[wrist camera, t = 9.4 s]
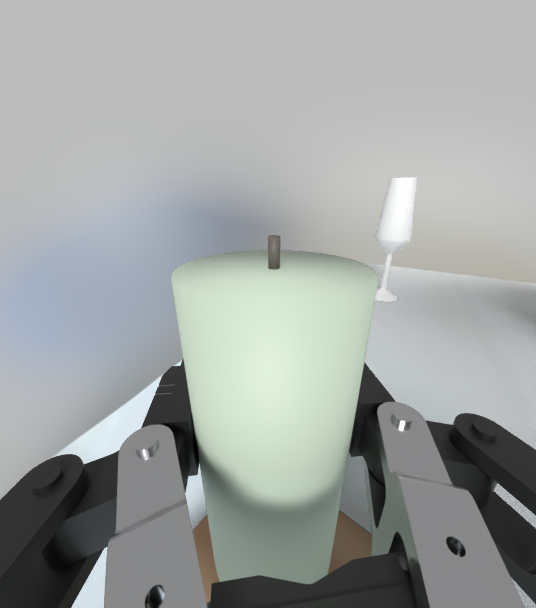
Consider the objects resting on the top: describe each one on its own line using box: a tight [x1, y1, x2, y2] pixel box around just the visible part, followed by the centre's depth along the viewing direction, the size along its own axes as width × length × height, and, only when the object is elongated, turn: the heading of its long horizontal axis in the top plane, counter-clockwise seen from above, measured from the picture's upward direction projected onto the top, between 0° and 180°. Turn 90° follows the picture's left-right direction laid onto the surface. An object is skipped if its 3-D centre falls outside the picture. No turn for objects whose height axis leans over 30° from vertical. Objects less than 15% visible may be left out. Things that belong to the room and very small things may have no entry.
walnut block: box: [193, 510, 372, 603], centre depth 14 cm, size 10×10×3 cm
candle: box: [171, 235, 378, 584], centre depth 9 cm, size 5×5×13 cm
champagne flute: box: [375, 178, 417, 302], centre depth 53 cm, size 7×7×24 cm
